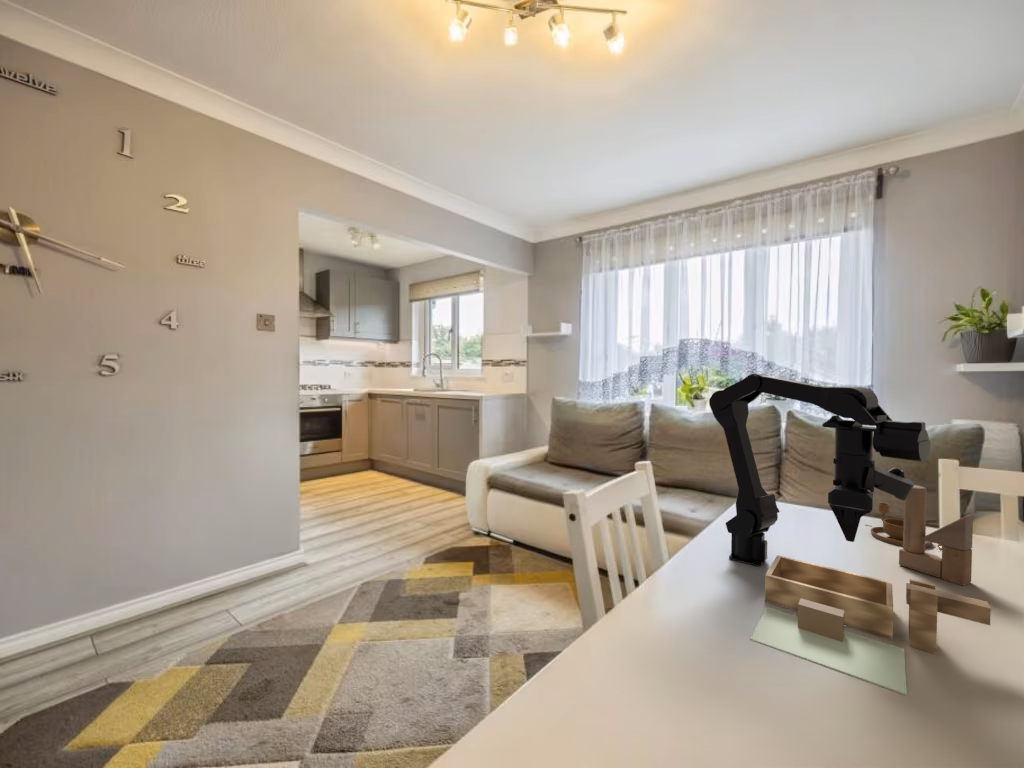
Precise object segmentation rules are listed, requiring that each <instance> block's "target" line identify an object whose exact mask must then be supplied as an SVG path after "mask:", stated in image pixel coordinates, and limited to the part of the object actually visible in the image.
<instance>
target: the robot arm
mask: <svg viewBox="0 0 1024 768" xmlns="http://www.w3.org/2000/svg"><path fill="white" fill-rule="evenodd" d="M761 394H767V395H772V396H775V397H776V396H777V397H780V398H785V399H790V400H793V401H798V402H799V401H800V402H802V403H808V404H811V405H814V406H816V407H818V408H820V409H822V410H824V411H826V412H829V413H831V414H833V415H832V416H831V417H830V418H829V419H828V420H826V421H825V422H823V423H821V424H822V425H821V426H822V427H823V428H829V429H830V428H831V429H834V456H833V464H834V465H833V467H834V468H833V469H834V471H833V472H834V473H833V478H832V486H833V487H832V488H830V489H829V491H828V493H827V504H829V507H830V508H831V510H832V513H833V514H834V517H835V519H836V521H837V522H838V525H839V527H840V529H841V532H842V535H843V536H844V539H845V540H846V542H851V543H854V542H855V539H856V537H857V533H858V528H859V525H860V521H861V518H863V517H864V516H865V515H867V514H871V513H872V511H873V510H874V509H873V507H874V493H875V489H878V490H879V491H882V492H884V493H887V494H889V495H892V496H894V497H895V498H896V499H899V500H901V501H903V502H904V501H905V500H906V499H907V497H908V495H909V493H910V492H911V490H912V488H913V486H914V485H915V484H914V481H912V480H911V479H909V478H906V477H905V472H904V470H903V469H901V468H898V467H895V466H893V467H891V468H889V469H888V470H886V469H882V468H880V467H876V465H875V464H876V460H874V458H873V457H874V456H873V455H874V451H875V453H879V455H880V456H881V457H882V458H889V459H896V460H902V461H903V460H905V461H910V462H918V463H919V462H921V463H925V462H926V461H927V460H928V458H929V456H930V451H931V439H930V438H929V433H928V431H927V429H926V422H925V421H896V420H893V419H892V417H890V415H888V413H887V412H886V411H885V410H884V409H883V408H882V407H881V406H880V404H879V399H878V396H877V395H876V393H875V392H874V390H872V389H870V388H868V387H863V386H836V385H835V386H831V385H830V386H829V385H827V386H826V385H819V384H813V383H809V382H803V381H798V380H792V379H787V378H782V377H777V376H772V375H769V374H765V373H751V374H749V375H747V376H746V377H744V378H743V379H741V380H740V381H738V382H737V381H736V382H735V383H733V384H731V385H728V386H727V387H725V388H724V389H722V390H721V389H720V390H716V391H715V392H714V393H712V395H711V396H710V398H709V399H708V400H709V401H708V402H709V403H708V404H709V405H708V406H709V408H710V410H711V413H712V415H713V418H714V419H715V420H716V421H717V423H718V424H719V425H720V426H721V428H722V429H723V431H724V435H725V436H724V437H725V440H726V445H727V449H728V452H729V456H730V461H731V464H732V469H733V472H734V477H735V480H736V485H737V490H738V491H737V495H736V500H735V510H736V511H735V513H736V514H735V516H734V517H732V518H731V519H729V520H728V521H727V522H725V528H726V530H727V532H728V533H729V534H731V539H730V540H731V544H730V545H731V546H730V547H731V549H730V550H731V552H730V555H728V558H729V559H730V560H732V561H736V562H737V561H738V562H741V563H745V564H749V565H753V566H755V567H761V566H762V565H763V563H765V562H766V561H767V559H768V541H767V540H766V539H765V538H766V535H765V533H767V532H769V529H770V528H771V527H772V526H774V525H775V524H776V522H777V521H778V518H779V517H778V513H780V512H781V511H780V509H779V508H778V505H777V501H776V499H777V498H776V495H775V494H774V493H771V494H768V493H767V492H766V490H765V489H764V487H763V486H762V482H761V479H760V476H759V471H758V468H757V463H756V459H755V456H754V452H753V448H752V444H751V440H750V436H749V433H748V429H747V422H748V417H749V414H750V413H749V404H750V403H752V402H753V401H756V400H757V398H758V397H760V395H761ZM842 418H845V419H842ZM849 419H850V420H849ZM873 426H874V427H873Z"/></svg>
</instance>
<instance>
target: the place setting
mask: <svg viewBox="0 0 1024 768" xmlns="http://www.w3.org/2000/svg"><path fill="white" fill-rule="evenodd" d="M877 505H878V507H877V509H878V512H879V513H880V514H881V517H880V519H881V521H883V523H882V526H874V527H872V525H869V524H864V525H865V527H868V526H869V527H870V534H871V535H872V537H874V538H876V539H877V540H880V541H882V542H885V543H888V544H893V545H897V546H900V547H903V530H904V519H899V518H886V515H887V514H889V512H890V504H889V503H885V502H878V504H877ZM878 532H880V533H885V534H886V535H888V536H889V537H890V538H889V537H886V536H883V535H880V534H879V533H878ZM932 545H933V542H929V541H925V549H926V548H929V547H931V546H932ZM939 546H943V545H940V544H937V548H938V547H939ZM938 549H939V550H941V551H942V548H940V547H939V548H938Z"/></svg>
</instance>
